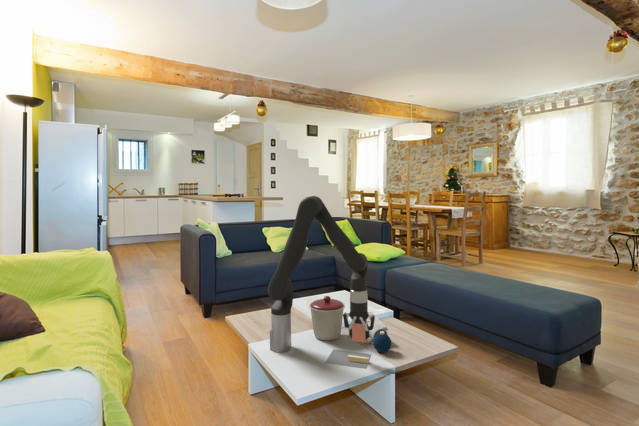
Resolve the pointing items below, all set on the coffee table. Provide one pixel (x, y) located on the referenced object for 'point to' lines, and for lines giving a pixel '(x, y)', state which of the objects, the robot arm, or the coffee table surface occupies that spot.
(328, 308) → the canister
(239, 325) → the coffee table surface
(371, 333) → the ceramic mug
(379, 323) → the envelope
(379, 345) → the christmas ornament
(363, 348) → the coffee table surface
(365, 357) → the mat
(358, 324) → the box
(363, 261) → the robot arm
